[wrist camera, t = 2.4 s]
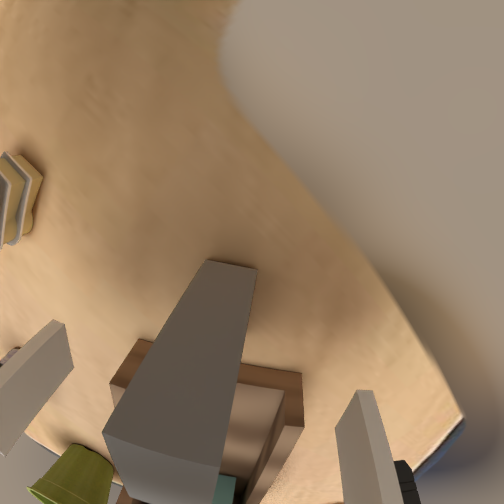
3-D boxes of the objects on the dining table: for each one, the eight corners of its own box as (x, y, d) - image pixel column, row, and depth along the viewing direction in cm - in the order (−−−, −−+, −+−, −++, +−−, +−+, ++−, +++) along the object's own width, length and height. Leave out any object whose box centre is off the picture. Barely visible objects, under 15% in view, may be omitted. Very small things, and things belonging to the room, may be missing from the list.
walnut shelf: (138, 338, 20) (48, 484, 8) (301, 373, 20) (306, 551, 7) (154, 468, 27) (125, 551, 15) (250, 489, 27) (238, 578, 15)
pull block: (172, 252, 17) (41, 402, 6) (292, 276, 17) (303, 477, 5) (172, 471, 26) (146, 552, 15) (231, 484, 26) (216, 569, 15)
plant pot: (117, 483, 32) (96, 534, 22) (54, 443, 30) (25, 491, 20) (142, 471, 28) (117, 536, 18) (64, 422, 27) (26, 483, 16)
